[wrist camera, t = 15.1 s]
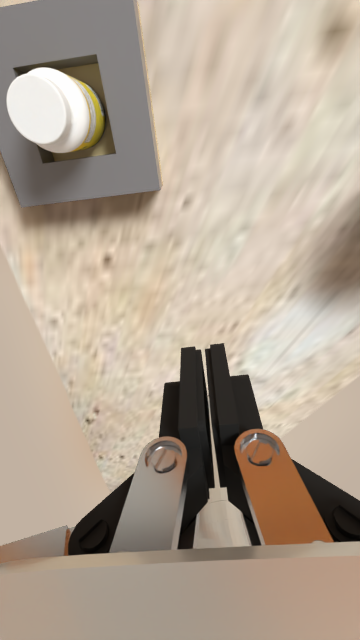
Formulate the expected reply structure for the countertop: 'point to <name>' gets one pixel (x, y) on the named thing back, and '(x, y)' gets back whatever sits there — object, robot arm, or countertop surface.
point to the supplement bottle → (56, 111)
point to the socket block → (103, 77)
